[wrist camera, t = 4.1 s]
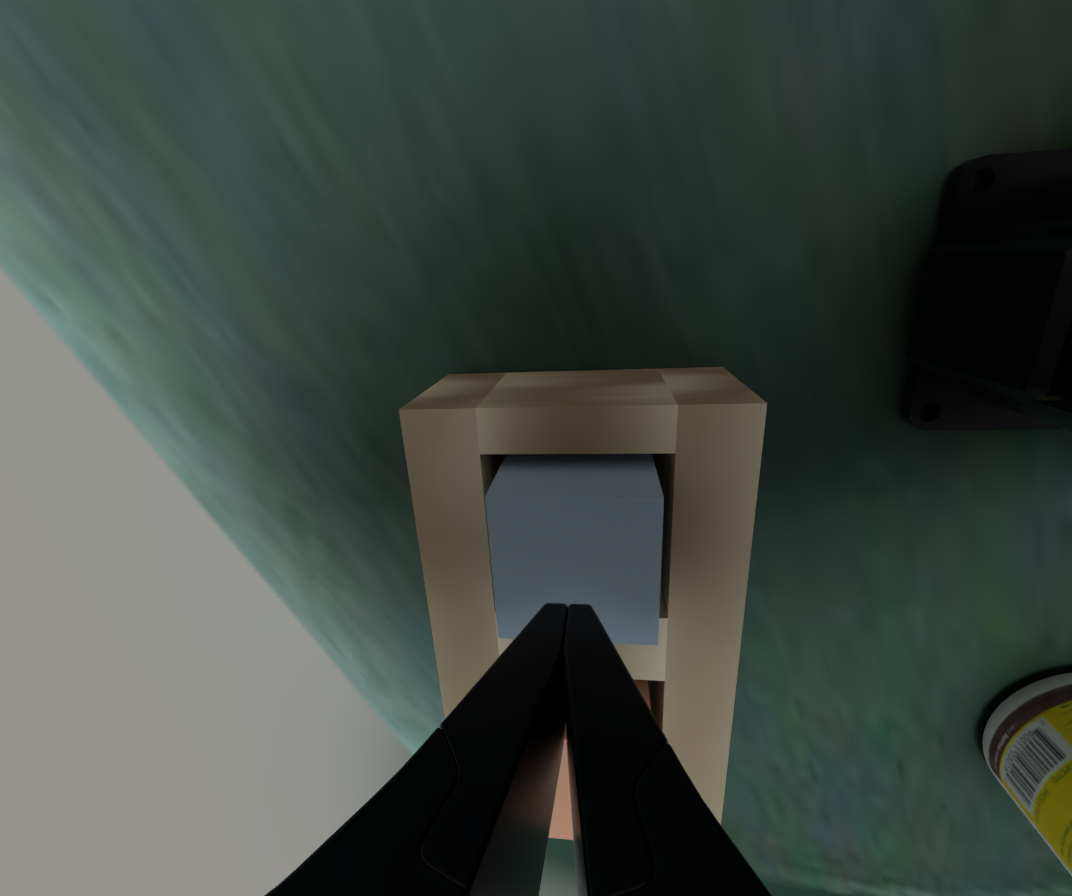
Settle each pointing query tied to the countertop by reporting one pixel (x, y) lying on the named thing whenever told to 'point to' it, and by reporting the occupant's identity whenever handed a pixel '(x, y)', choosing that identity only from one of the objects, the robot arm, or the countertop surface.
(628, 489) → the light blue square block
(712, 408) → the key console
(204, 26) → the countertop surface
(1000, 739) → the supplement bottle
